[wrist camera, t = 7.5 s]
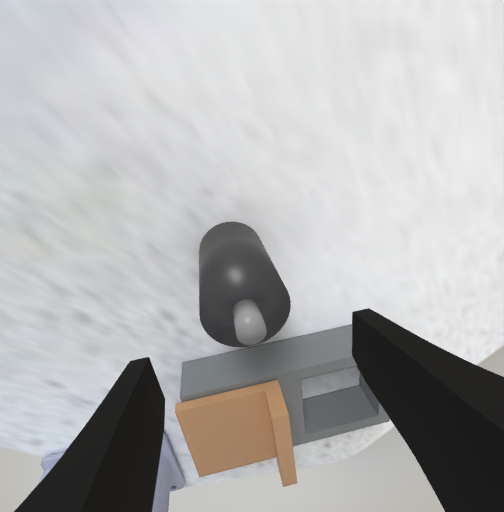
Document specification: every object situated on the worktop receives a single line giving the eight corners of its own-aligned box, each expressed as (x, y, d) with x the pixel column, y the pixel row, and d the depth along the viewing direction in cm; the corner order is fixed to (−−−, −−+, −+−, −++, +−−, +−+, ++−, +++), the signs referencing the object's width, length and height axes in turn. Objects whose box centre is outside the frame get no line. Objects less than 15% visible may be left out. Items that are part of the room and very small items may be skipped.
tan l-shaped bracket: (199, 468, 22) (199, 509, 20) (176, 403, 19) (172, 443, 17) (286, 445, 23) (297, 483, 20) (277, 379, 20) (288, 414, 17)
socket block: (204, 431, 25) (205, 469, 22) (182, 362, 22) (180, 397, 19) (369, 390, 26) (389, 421, 24) (373, 319, 23) (397, 346, 20)
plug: (206, 285, 19) (210, 381, 12) (193, 228, 18) (188, 301, 10) (265, 273, 20) (304, 359, 12) (257, 216, 18) (297, 278, 11)
